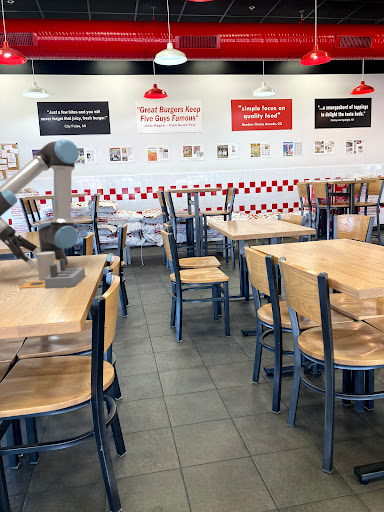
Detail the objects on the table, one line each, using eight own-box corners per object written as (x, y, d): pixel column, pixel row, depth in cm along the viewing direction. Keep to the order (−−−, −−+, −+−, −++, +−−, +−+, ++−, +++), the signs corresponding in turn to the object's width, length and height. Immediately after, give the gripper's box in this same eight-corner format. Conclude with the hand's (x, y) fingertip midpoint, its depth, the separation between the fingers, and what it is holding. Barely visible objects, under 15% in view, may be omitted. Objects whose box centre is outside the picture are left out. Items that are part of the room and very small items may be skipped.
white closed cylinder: (51, 280, 194) (49, 254, 192) (35, 280, 196) (32, 254, 194) (60, 276, 202) (58, 251, 200) (45, 276, 204) (42, 251, 202)
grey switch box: (59, 277, 200) (57, 258, 198) (85, 276, 200) (83, 257, 198) (45, 288, 180) (43, 267, 179) (73, 286, 180) (71, 265, 179)
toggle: (56, 271, 191) (55, 259, 190) (60, 271, 191) (59, 259, 190) (54, 273, 188) (52, 261, 187) (58, 272, 188) (57, 260, 187)
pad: (29, 282, 193) (29, 281, 193) (53, 281, 193) (53, 280, 193) (19, 288, 182) (19, 287, 182) (45, 287, 182) (45, 286, 182)
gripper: (10, 233, 207) (43, 263, 209) (-15, 241, 182) (23, 274, 185) (19, 222, 206) (53, 252, 208) (-4, 228, 181) (34, 261, 184)
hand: (39, 262), depth 197 cm, fingers open, 13 cm apart
